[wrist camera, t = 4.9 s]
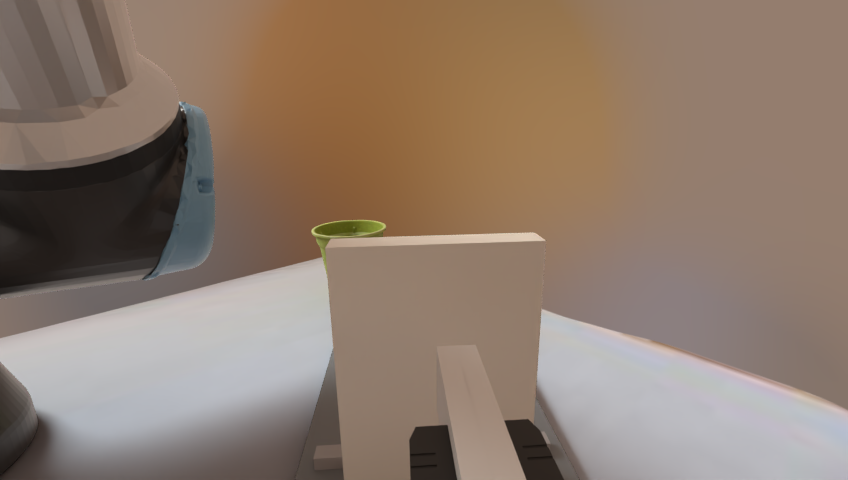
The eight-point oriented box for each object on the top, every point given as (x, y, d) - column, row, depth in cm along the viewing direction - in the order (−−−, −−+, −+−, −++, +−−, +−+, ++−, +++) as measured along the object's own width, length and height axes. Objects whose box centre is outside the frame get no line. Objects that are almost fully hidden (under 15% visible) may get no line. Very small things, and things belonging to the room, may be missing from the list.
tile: (529, 486, 22) (546, 240, 18) (345, 499, 21) (325, 247, 18) (519, 461, 23) (533, 231, 20) (349, 473, 23) (331, 238, 19)
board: (633, 606, 17) (638, 571, 17) (257, 641, 16) (250, 605, 16) (497, 336, 40) (497, 318, 40) (338, 343, 39) (337, 325, 39)
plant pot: (337, 311, 47) (332, 240, 45) (305, 288, 54) (299, 226, 52) (402, 291, 52) (400, 227, 50) (365, 273, 60) (362, 216, 57)
